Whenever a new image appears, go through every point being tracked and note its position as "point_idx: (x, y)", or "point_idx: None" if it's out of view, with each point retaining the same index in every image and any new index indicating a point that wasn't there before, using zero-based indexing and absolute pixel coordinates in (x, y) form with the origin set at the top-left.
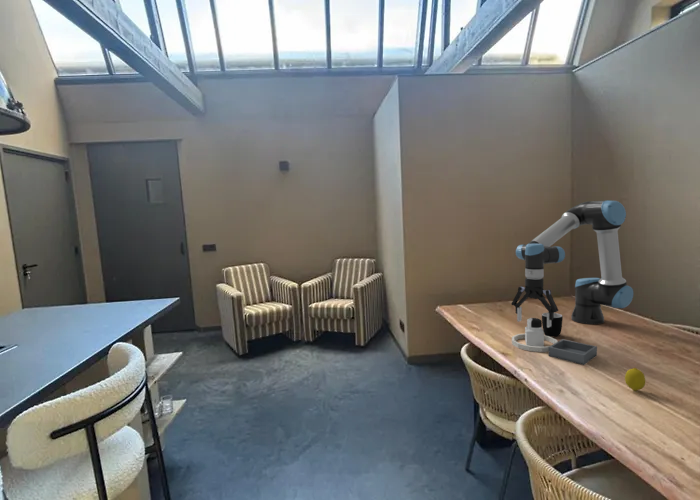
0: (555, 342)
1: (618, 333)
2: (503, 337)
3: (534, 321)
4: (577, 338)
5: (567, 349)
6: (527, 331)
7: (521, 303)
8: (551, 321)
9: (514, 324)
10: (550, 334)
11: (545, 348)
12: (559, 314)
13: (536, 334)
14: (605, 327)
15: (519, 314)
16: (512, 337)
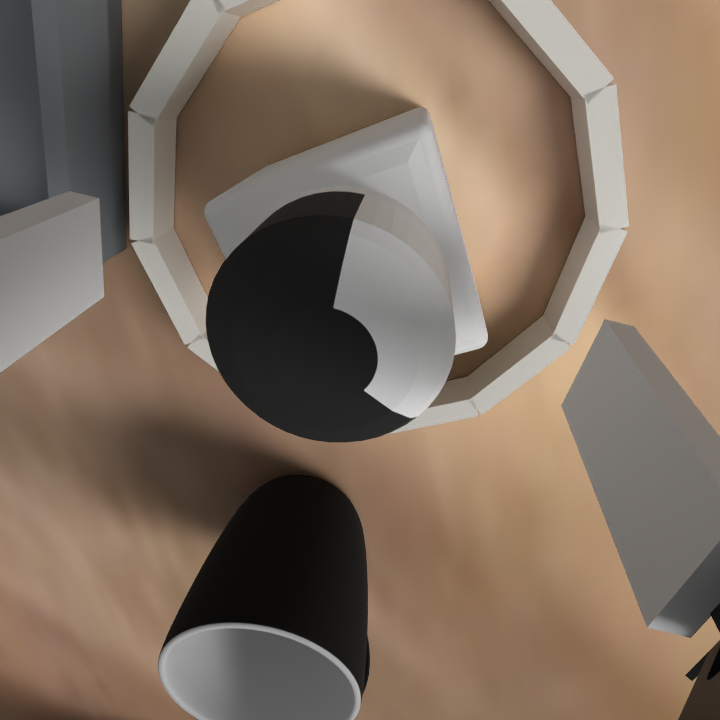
0: (165, 263)
1: (7, 652)
2: (712, 292)
3: (289, 237)
4: (135, 509)
5: (32, 161)
6: (416, 127)
7: (714, 704)
8: (245, 579)
9: (619, 639)
10: (294, 484)
11: (186, 17)
12: (210, 718)
13: (298, 164)
14: (100, 711)
15: (637, 419)
16: (618, 208)
